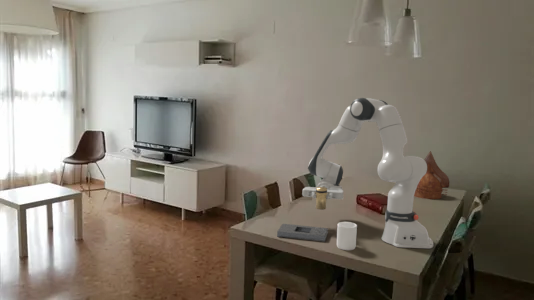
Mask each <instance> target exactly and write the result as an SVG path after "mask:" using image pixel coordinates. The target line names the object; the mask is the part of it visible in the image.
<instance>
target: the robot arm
mask: <svg viewBox="0 0 534 300" xmlns="http://www.w3.org/2000/svg"><path fill="white" fill-rule="evenodd" d="M365 122H369V123H373V122H374V123H376V126H377V128H378V133H379V136H380V139H381V143H382V144H381V146H382V158H381V159H380V161H379V163H378V164H377V169H376V170H377V174H378V177H379V178H380V180H382V181H385V182H390V183H394V185H393V187H392V188H391V189H390V190H389V191H388V193H387V207H386V209H385V214H384V215H385V216H384V220H385V224H384V229H383V233H382V235H381V240H382V241H383V242H385V243H387V244H389V245H392V246H394V247H396V248H406V249H407V248H409V249H411V248H412V249H432V248H433V247H434V241H433V239H431V237H429V232H428V230H427V228H426V227H425V226H424V225H423V224H422V223H421V222H419V221H418V220H419V215H418V214H417V213H416V212H415V211H413V208H414V199H415V198H414V197H415V196H414V194H415V190H416V188H417V185H418V183H419V181H420V180H421V178H422V177H423V176H424V175H425V174H426V172H427V164H426V162H425V160H424V159H425V158H422V157H420V156H416V155H405V156H404V147H405V146H406V145H407V144H408V137H407V133H406V129H405V126H404V123H403V120H402V117H401V115H400V113H399V111H398V108H397V107H396V106H394V105H392V104H388V102H386V101H384V100H382V99H376V98H370V97H366V98H365V97H358V98H356V99H354V100H353V101H352V103H350V105H349V106H347V107H346V108H345V110H344V112H343V114H342V116H341V117H340V121H339V122H338V125H337V126H336V128H334V129H332V130H330V131H329V132H327V134H326V136H325V137H324V138H323V140H322V142H321V144H320V145H319V147H318V149H317V151H316V152H315V154H314V155H313V157H312V158H311V159H310V160H309V163H308V166H307V171H308V172H309V174H310V175H312V176H315V177H319V178H322V179H321V180H320V181H319V182H318V184H317V185H316V186H315V187H314V186H305V187H304V188H302V190H301V191H302V193H301V195H302V197H307V198H313V199H316V188H317V187H326V188H327V195H326V200H332V199H333V200H344V189H343V186H342V185H340V183H341V180H342V179H343V175H344V169H343V167H342V165H341V164H338V163H335V162H333V161H330V160H328V159H325V158H323V156H324V155H325V153H326V151H327V149H328V148H329V147H330V146H331V145H336V144H338V145H339V144H343V145H345V144H346V145H347V144H350V143H353V142H355V140H357V138H358V135H359V134H360V131H361V129H362V126H363V124H364V123H365Z"/></svg>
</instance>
